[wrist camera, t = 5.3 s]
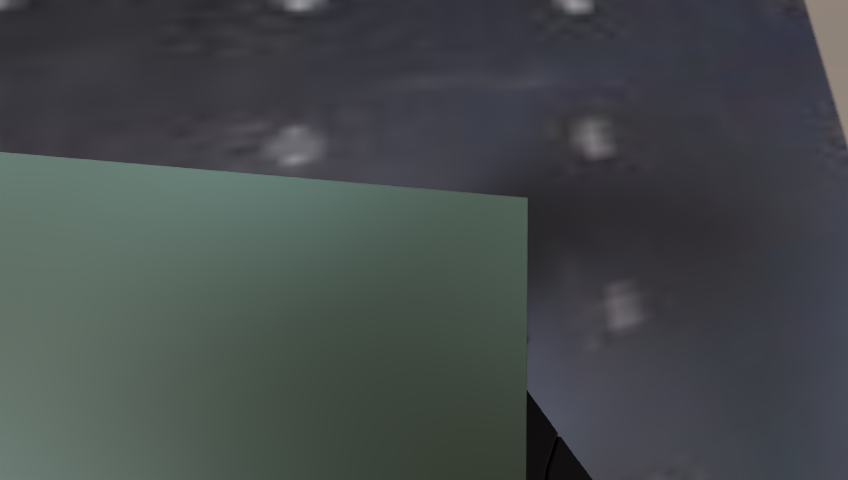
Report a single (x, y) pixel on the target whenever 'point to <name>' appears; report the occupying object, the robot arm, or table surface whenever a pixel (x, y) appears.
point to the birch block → (256, 327)
